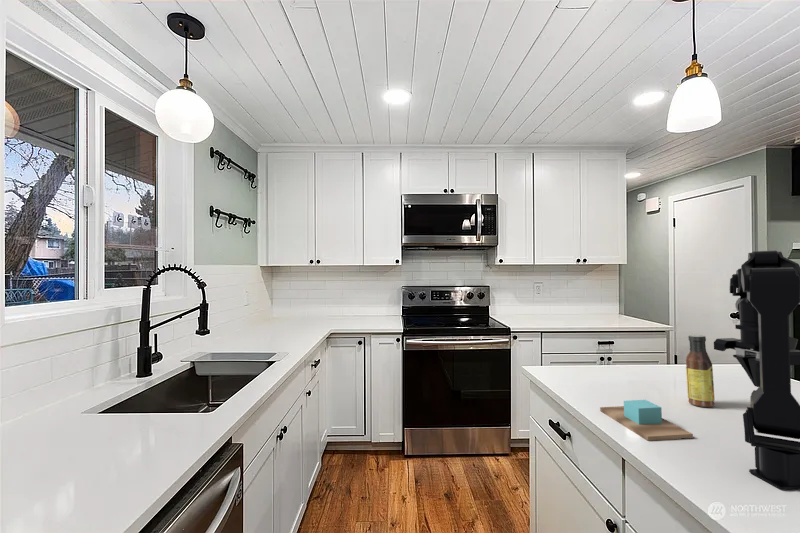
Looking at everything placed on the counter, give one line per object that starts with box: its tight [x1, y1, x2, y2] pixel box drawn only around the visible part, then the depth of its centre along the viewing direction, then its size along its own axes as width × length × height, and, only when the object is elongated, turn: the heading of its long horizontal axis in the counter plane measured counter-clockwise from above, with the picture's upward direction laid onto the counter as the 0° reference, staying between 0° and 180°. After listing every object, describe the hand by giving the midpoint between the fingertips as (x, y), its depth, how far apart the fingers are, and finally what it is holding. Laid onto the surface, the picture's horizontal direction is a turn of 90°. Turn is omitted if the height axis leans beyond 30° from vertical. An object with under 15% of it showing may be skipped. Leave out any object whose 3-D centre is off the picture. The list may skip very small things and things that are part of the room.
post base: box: [599, 405, 694, 442], centre depth 103 cm, size 20×11×4 cm, turn 3°
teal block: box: [623, 399, 663, 425], centre depth 103 cm, size 6×6×4 cm
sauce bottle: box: [685, 334, 715, 408], centre depth 116 cm, size 6×6×20 cm
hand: (758, 386), depth 96 cm, fingers closed
